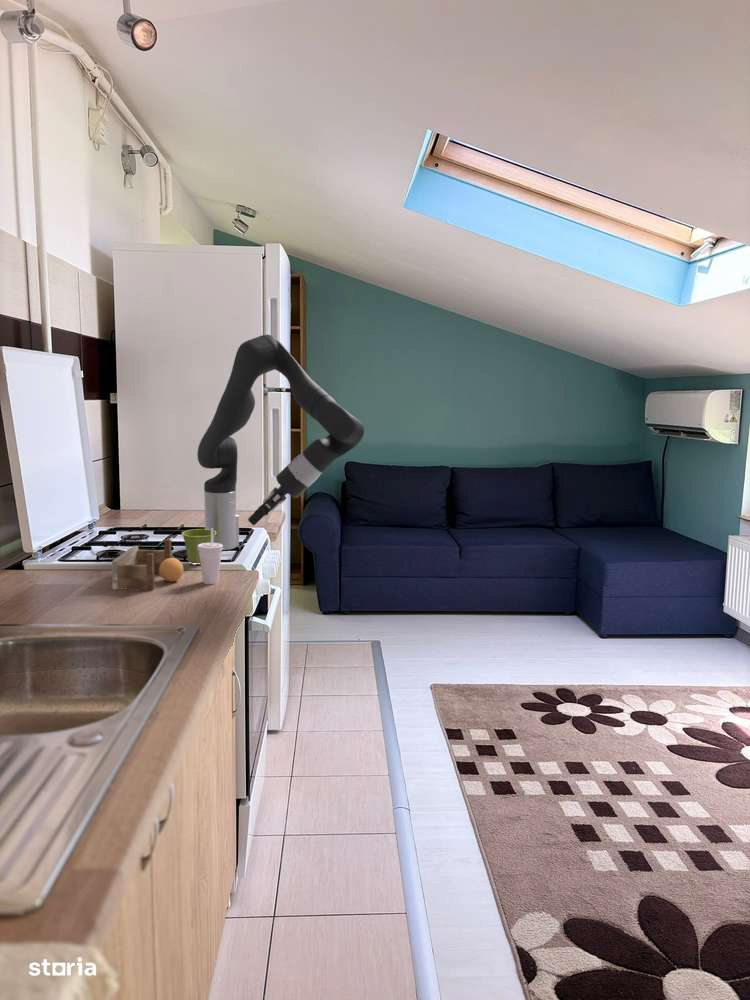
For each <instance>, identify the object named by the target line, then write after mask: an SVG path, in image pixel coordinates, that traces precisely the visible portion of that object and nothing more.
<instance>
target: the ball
mask: <svg viewBox="0 0 750 1000" xmlns="http://www.w3.org/2000/svg"><path fill="white" fill-rule="evenodd" d="M183 573H184V566H183V563H182V561H180V560H179V559H177V558H175V557H171V558H168V559H166V560H164V561H163V562H162V563H161V565H160V567H159V573H158V574H159V576H160V577H161V578H162V579H163V581H166V582H170V583H171V582H172V583H173V582H176V581H178V580H179V579H181V577H182V576H183V575H184V574H183Z"/></svg>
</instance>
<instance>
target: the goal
mask: <svg viewBox="0 0 750 1000" xmlns="http://www.w3.org/2000/svg"><path fill="white" fill-rule="evenodd" d="M163 543H164V544H163V548H164V549H159V550H158V549H139V545H133V546H132V547H130V548H129V549H127V550H126V551H125V552H123V553H122V554H120V555H118V556H117V557H116V558H115V559H113V560H111V574H112V575H111V576H112V578H111V579H112V590H117V589H118V588H119V589H118V590H122V589H121V588H123V589H125V588H126V589H139V590H138V591H154V590H155V584H156V583H155V574H160V573H159V567H160V565H161V563H162V562H163V561H164V560H166V559H168V558H172V539H171V538H167V539H166V538H165V539H164V540H163Z"/></svg>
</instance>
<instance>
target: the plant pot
mask: <svg viewBox="0 0 750 1000" xmlns="http://www.w3.org/2000/svg"><path fill="white" fill-rule="evenodd" d="M181 535H182V536H183V540H184V543H185V544H184V545H185V551H186V557H187V563H188V562H191V563H200V556H199V550H197V548H198V545H199V544H202V543H211V530H209V529H205V528H196V529H188V530H184V531H181ZM215 535H216V531H213V540H214V538H215Z"/></svg>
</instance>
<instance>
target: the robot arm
mask: <svg viewBox="0 0 750 1000" xmlns="http://www.w3.org/2000/svg"><path fill="white" fill-rule="evenodd" d="M274 370H275V371H277V372H279V373H280V374H281V375H283V376H284V377H285V378H286V379H287V381H288V384H289V386H290V390H291V394H292V396H293V399H294V400H295V402H296V403H297V405H298V406H299V407H300V408H301V409H302V410H303V411H304V412H305V413H306V414H308V416H310V417H311V418H312V419H314V420H315V421H317V423H319V424H320V426H321V427H322V428H323V429H324V430H325V431H326V432H327V433H328V435H327V436H325V437H324V438H323V437H322V438H317V439H315V440H314V441H312V442H311V443H310V445H308V446H307V447H306V448H305V449H304V450H303V451H302V452H301V453H300V454H298V455H297V456H296V457H294V459H292V460H291V461H290V462H289V464H287V465H286V466H285V467H284V468H283V469H282V470H281V471H280V472H279V473H278V474H277V475H276V477H275V478H276V481H277V483H278V484H279V487H277V486H275V487H274V488H273V489H272V490H271V491H270V492H269V494H268V495H267V496H266V497H265V498H264V499H263V500H262V504H261V505H259V506H258V508H257V509H255V510H254V511H253V514H252V515H250V516H249V518H247V521H248V522H249V523H250V524H251V525H252V526H255V525H257V523H259V522H260V520H262V519H263V518H264V517H265V516H268V515H269V513H270V512H271V511H272V512H273V511H274V510H275V509H276V508H277V507H279V505H282V504H283V503H284V501H286V500H287V497H286V496H287V494H288V495H289V496H291V497H293V498H295V499H296V498H299V497H300V496H301V495H302V494H303V493H304V492H306V490H308V488H309V487H311V486H312V485H313V484H314V483H315V482H316V481H317V480H318V478H319V477H320V476H321V475H322V474H323V472H324V471H325V470H327V468H329V467H330V466H331V465H332V464H333V463H334V462H335V461H336V460H338V459H339V458H341V457H342V456H344V455H345V454H347V453H348V452H350V451H351V450H352V449H354V448H355V447H356V446H357V445H359V443H360V442H361V441H362V439H363V438H364V435H365V426H364V424H363V423H362V422H361V420H360V419H358V418H357V417H355V416H354V415H352V414H351V413H350V412H349V411H347V410H346V409H345V408H343V407H342V406H341V405H339V403H337V401H336V400H335V399H334V398H333V397H332V396H331V395H330V394H329V393H328V392H327V391H325V390H324V389H323V388H322V387H321V386H320V385H318V384H317V383H316V382H315V381H314V380H313V379H312V378H311V377H310V376H309V375H308V373H307V372H306V371H305V370H304V369H303V368H302V366H301V365H300V364H299V362H297V360H296V358H294V357H293V355H292V354H291V353H290V351H288V349H287V348H286V347H285V346H284V345H283V343H282V342H281V341H280V340H279V339H277V338H276V337H275V336H273V335H271V334H264V335H263V334H262V335H259V336H257V337H254V338H253V337H252V338H251V339H248V340H246V341H244V342H243V343H241V344H240V345H239V347H238V348H237V349H236V353H235V358H234V360H233V364H232V369H231V372H230V376H229V378H228V380H227V381H228V382H227V384H226V386H225V389H224V391H223V394H222V395H221V397H220V399H219V402H218V405H217V408H216V411H215V413H214V415H213V418H212V420H211V422H210V424H209V426H208V428H207V429H206V431H205V433H204V434H203V436H202V438H201V440H200V442H199V445H198V446H197V447H198V449H197V454H196V455H197V461H198V463H199V465H200V466H201V467H203V468H204V469H213V470H215V469H221V470H220V472H219V473H218V474H217V475H215V476H213V477H212V478H209V479H207V480H206V481H205V482H204V483H203V485H204V486H203V487H204V488H203V489H204V490H203V491H204V492H203V493H204V494H203V495H204V529H209V530H211V528H213V531H216V535H215V538H214V540H213V543H220V544H222V545H223V549H222V551H227V550H232V549H233V550H234V549H235V548H237V547H240V524H239V523H240V517H239V514H237V490H236V489H237V481H238V456H239V455H238V453H239V451H238V445H237V443H236V439H234V438H233V437H231V436H233V435H235V434H236V433H237V432H238V431H240V430H241V429H243V428H244V427H245V426H246V425H247V423H248V422H249V420H250V418H251V416H252V414H253V413H254V409H255V406H256V399H255V395H254V393H253V391H252V388H253V386H254V384H255V382H256V381H257V379H258V378H259V377H261V376H262V375H264V374H267V373H270V372H272V371H274Z"/></svg>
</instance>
